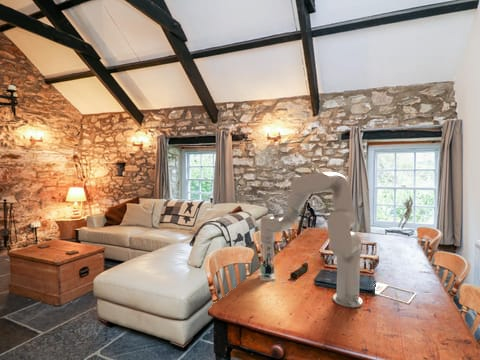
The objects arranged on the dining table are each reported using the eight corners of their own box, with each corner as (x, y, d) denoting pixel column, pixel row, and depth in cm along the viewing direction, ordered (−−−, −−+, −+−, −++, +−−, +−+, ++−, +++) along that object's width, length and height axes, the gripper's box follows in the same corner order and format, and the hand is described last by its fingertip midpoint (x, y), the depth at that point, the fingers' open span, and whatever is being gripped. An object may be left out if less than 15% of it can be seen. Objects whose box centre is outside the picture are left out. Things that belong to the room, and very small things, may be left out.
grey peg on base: (275, 280, 152) (275, 265, 152) (260, 280, 152) (260, 265, 152) (273, 274, 160) (273, 260, 160) (259, 275, 160) (259, 260, 160)
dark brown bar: (296, 280, 153) (296, 272, 153) (290, 278, 156) (290, 270, 155) (312, 270, 168) (312, 263, 167) (305, 269, 170) (306, 261, 170)
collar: (274, 274, 153) (274, 267, 152) (261, 275, 152) (261, 267, 152) (272, 270, 160) (272, 263, 159) (260, 270, 159) (260, 263, 159)
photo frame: (377, 281, 149) (416, 292, 137) (377, 283, 150) (416, 294, 137) (367, 290, 139) (408, 302, 126) (367, 292, 139) (408, 305, 127)
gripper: (276, 243, 146) (276, 277, 147) (272, 234, 164) (271, 265, 165) (262, 243, 146) (262, 277, 147) (259, 235, 164) (258, 265, 164)
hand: (267, 270), depth 156 cm, fingers closed on collar, 7 cm apart
